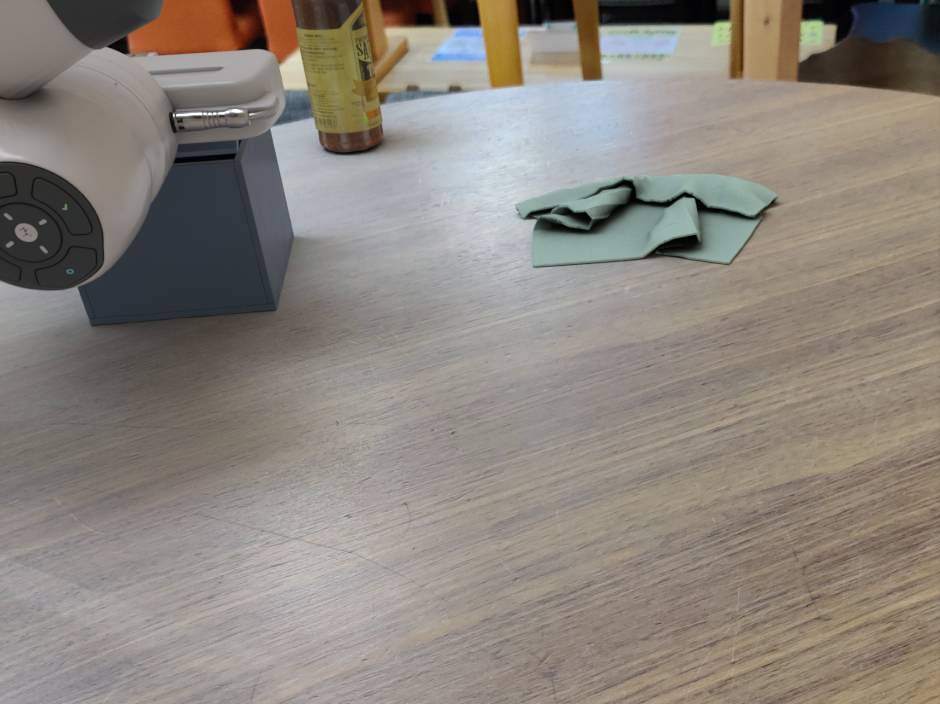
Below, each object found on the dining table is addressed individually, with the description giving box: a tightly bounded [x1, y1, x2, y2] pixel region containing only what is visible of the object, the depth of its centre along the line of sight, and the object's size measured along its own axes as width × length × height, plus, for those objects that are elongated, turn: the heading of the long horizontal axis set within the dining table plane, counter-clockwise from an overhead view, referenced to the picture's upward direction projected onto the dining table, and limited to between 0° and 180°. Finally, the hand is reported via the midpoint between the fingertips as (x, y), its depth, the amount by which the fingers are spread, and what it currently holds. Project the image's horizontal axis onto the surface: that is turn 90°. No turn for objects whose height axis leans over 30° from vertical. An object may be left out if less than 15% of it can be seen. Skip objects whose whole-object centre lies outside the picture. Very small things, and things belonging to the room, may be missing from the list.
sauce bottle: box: [290, 0, 384, 153], centre depth 108 cm, size 7×6×20 cm
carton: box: [77, 128, 295, 326], centre depth 87 cm, size 14×13×11 cm
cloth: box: [514, 173, 780, 268], centre depth 96 cm, size 20×22×2 cm
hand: (139, 66), depth 82 cm, fingers closed
